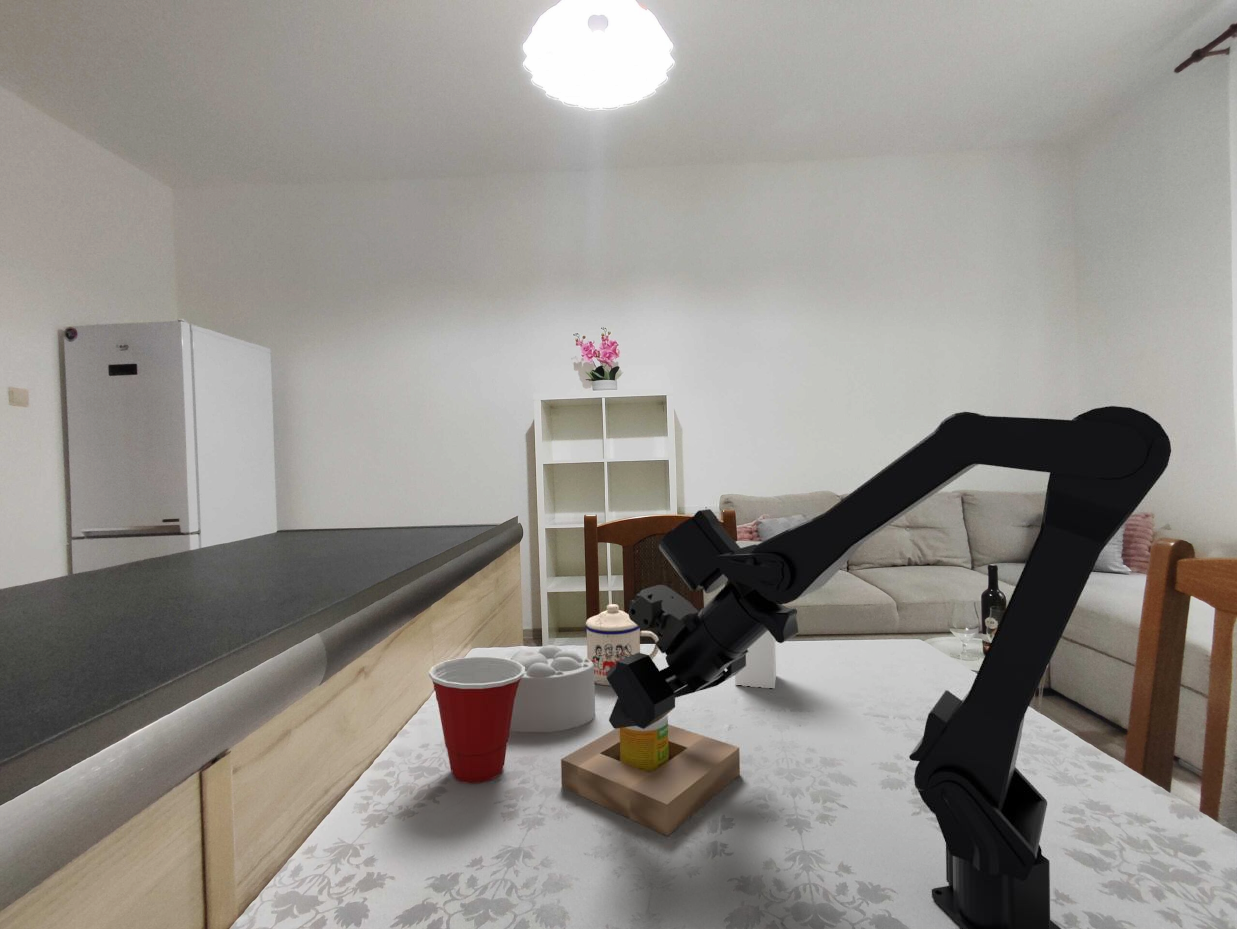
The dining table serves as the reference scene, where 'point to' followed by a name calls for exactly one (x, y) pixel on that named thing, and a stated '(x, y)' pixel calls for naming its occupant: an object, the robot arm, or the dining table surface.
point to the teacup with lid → (612, 640)
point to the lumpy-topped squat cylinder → (553, 691)
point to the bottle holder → (653, 778)
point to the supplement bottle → (645, 745)
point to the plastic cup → (476, 713)
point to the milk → (758, 656)
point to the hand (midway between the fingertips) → (638, 709)
